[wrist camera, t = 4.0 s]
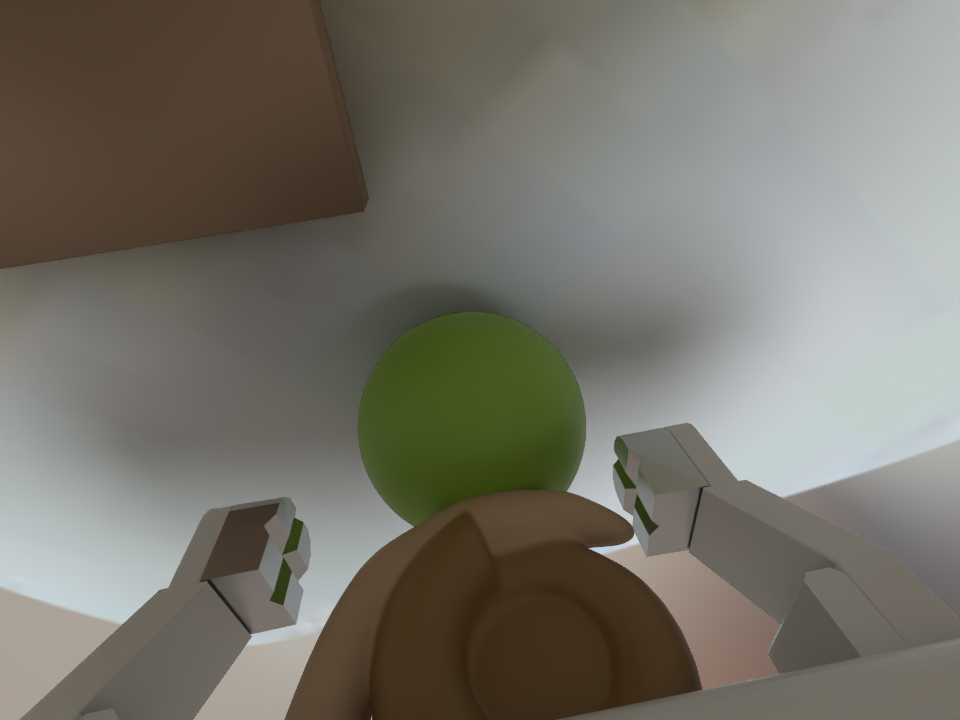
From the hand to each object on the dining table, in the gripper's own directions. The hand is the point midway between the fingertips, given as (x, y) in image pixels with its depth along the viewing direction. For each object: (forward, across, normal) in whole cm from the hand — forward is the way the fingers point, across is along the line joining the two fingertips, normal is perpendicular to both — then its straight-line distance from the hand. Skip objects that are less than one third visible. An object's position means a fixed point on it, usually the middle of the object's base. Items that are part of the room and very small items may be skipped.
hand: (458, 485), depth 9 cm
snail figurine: (+5, 0, 0) cm, 5 cm away
